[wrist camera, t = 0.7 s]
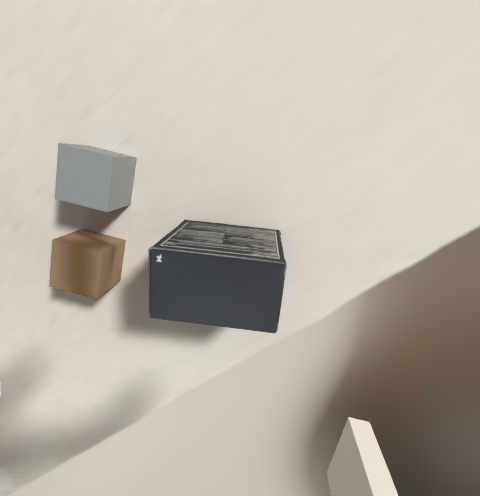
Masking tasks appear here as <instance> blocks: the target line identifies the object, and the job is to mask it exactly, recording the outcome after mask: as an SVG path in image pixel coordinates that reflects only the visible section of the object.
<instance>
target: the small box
mask: <svg viewBox="0 0 480 496" xmlns="http://www.w3.org/2000/svg"><path fill="white" fill-rule="evenodd" d="M280 235H281V232H280V231H279V230H271V229H263V228H254V227H248V226H247V227H245V226H237V225H227V224H220V223H209V222H200V221H189V220H184V221H183V222H182V223H181V224H180V225H179V226H178V227H176V228H175V229H174V230H173V231H171V232H170V233H169V234H167V235H166V236H165V237H164V238H162V239H161V240H160V241H159V242H157V243H156V244H155V245H154V246H152V247H151V248H149V250H148V251H149V317H150V318H156V319H164V320H172V321H180V322H189V323H197V324H205V325H213V326H221V327H229V328H237V329H245V330H253V331H261V332H268V333H276V332H277V328H278V322H279V316H280V309H281V302H282V295H283V288H284V280H285V272H286V261H285V259H284V254H283V248H282V243H281V237H280Z"/></svg>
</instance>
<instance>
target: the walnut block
mask: <svg viewBox="0 0 480 496" xmlns="http://www.w3.org/2000/svg"><path fill="white" fill-rule="evenodd" d="M125 241H126V240H123V239H119V238H115V237H111V236H108V235H104V234H100V233H96V232H92V231H88V230H84V229H81V230H78V231H75V232H73V233H70V234H67V235H64V236H62V237H59V238H56V239H53V240H52V254H51V270H50V286H49V287H53V288H57V289H60V290H64V291H68V292H72V293H76V294H80V295H83V296H87V297H91V298H95V299H98V298H99V297H101V296H102V295H103V294H104V293H106V292H107V291H108V290H109V289H111V288H112V287H113V286H114V285H116V284H117V283H118V282H119V281H120V278H121V271H122V263H123V256H124V249H125Z"/></svg>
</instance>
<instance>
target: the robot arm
mask: <svg viewBox="0 0 480 496" xmlns="http://www.w3.org/2000/svg"><path fill="white" fill-rule="evenodd" d="M0 396H1V383H0ZM327 476H328V481H329V486H330V492H331V496H398V494H397V491H396V489H395V486H394V483H393V481H392V478H391V476H390V473H389V471H388V468H387V466H386V463H385V461H384V458H383V456H382V453H381V450H380V448H379V446H378V443H377V440H376V438H375V435H374V433H373V430H372V428H371V425H370V423H369V422H367V421H362V420H358V419H354V418H348V420H347V422H346V425H345V428H344V430H343V433H342V435H341V438H340V440H339V443H338V446H337V448H336V451H335V453H334V456H333V459H332V461H331V464H330V466H329V469H328V472H327Z"/></svg>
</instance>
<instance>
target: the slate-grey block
mask: <svg viewBox="0 0 480 496" xmlns="http://www.w3.org/2000/svg"><path fill="white" fill-rule="evenodd" d="M136 159H137V158H136V157H132V156H128V155H124V154H120V153H116V152H112V151H108V150H104V149H100V148H96V147H92V146H85V145H74V144H63V143H58V159H57V175H56V191H55V199H57V200H61V201H65V202H69V203H73V204H77V205H81V206H85V207H89V208H92V209H96V210H100V211H104V212H110V211H113V210H116V209H119V208H122V207H126V206H129V205H130V204H131V196H132V189H133V181H134V174H135V166H136Z"/></svg>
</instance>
